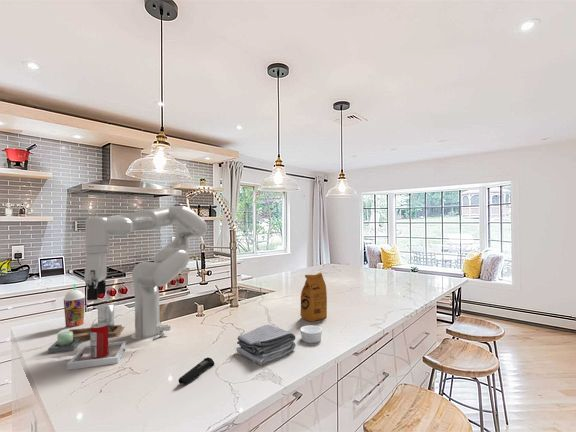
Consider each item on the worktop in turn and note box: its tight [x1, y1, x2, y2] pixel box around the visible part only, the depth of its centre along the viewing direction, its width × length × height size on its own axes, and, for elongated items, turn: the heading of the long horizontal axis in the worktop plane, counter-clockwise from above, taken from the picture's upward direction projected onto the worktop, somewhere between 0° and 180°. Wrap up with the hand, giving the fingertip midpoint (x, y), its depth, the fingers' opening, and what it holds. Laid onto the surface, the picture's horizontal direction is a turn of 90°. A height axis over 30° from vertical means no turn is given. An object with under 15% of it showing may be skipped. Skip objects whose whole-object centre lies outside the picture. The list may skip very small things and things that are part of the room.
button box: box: [47, 338, 82, 354], centre depth 119 cm, size 8×8×3 cm
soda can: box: [89, 322, 109, 360], centre depth 113 cm, size 6×6×12 cm
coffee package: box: [299, 272, 328, 323], centre depth 155 cm, size 10×12×22 cm
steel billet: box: [97, 302, 115, 332], centre depth 133 cm, size 6×6×12 cm
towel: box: [235, 324, 297, 366], centre depth 117 cm, size 15×18×8 cm
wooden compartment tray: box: [68, 324, 125, 342], centre depth 132 cm, size 22×13×3 cm, turn 107°
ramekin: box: [300, 324, 323, 344], centre depth 128 cm, size 9×9×4 cm
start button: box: [56, 330, 73, 346], centre depth 119 cm, size 5×5×4 cm
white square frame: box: [67, 340, 127, 370], centre depth 113 cm, size 15×15×2 cm
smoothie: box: [63, 283, 86, 328], centre depth 145 cm, size 8×8×20 cm
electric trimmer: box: [178, 357, 215, 385], centre depth 100 cm, size 4×16×3 cm, turn 159°
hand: (96, 296), depth 115 cm, fingers open, 9 cm apart
